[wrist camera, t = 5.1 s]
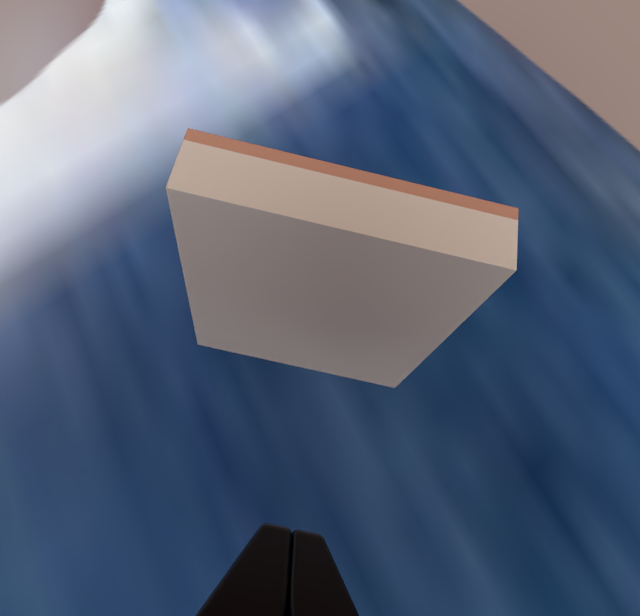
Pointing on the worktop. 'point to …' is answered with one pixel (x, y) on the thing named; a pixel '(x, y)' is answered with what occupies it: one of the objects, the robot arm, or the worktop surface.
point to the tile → (329, 258)
